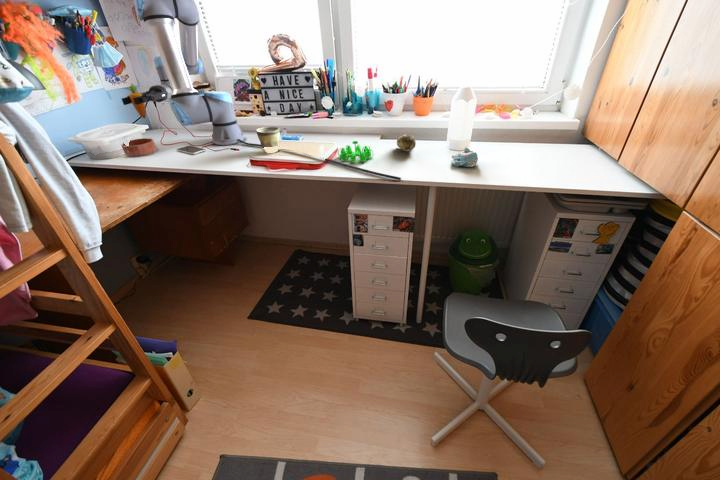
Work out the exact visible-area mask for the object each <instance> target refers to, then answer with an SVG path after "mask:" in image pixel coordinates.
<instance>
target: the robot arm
mask: <svg viewBox="0 0 720 480" xmlns="http://www.w3.org/2000/svg"><path fill="white" fill-rule="evenodd" d="M133 5H134V9H135V12H136V15H137V18H138V20H142V21H143V23H144V25H145V27H147V28H149V29H150V31H151V35H152V37H153V40H154V43H155V45H156V48H157V51H158V53H159V56H154V57H153V62H154V66H155V70H156V72H157V75H158V78H159V82H160V83H159V84H155V85H152V86H149V89H148V90H146V91H143V92H139V93H140V94H141V95H142V96H140V97H136V98H133V100H134V102H135V105H138V104H141V103H145V104H146V103H149V102H155V103H162V102H168V103H169V106H170V109H171V111H172V114H173V115H174V117H175V119H176V120H177V122H178V123H179V124H180V125H181V126H183V127H189V126H196V125H202V124H208V123H211V125H212V134H211V138H212V142H213V143H212V144H213V145H215V146H216V145H217V146H230V145H236V144H240V143H242V144H244V145H246V146H252V147H253V146H254V147H261V148H262V145H261V143H260V144H259V143H252V142H251V143H250V142H247V141H245V139H246V138H245V134H244V132H243V131H242V129H241V127H240V126H239V124H238V120H237V116H236V111H235V108H234V102H233V99H232V96H231V94H230V93H228V92H227V91H219V90H218V91H217V90H216V91H215V90H214V91H213V90H208V91H207V90H206V91H203V95H200V94H199V91H198V90H197V89H195V88H194V87H193V83H192V80H191V77H190V76H194V75H195V76H197V75H201V74H203V73H204V66H203V63H202V60H201V59H200V58H199V54H198V53H199V51H198V50H199V48H198V47H199V46H198V25H199V23H200V12H199V11H200V10H199V8H198V6H197V4H196V2H195V0H133ZM175 19H176V20H177V21H178V32H179V42H180V45H179V42H178V38H177V36H176V32H175V30H174V26H175V25H176V21H175ZM121 101H122V103H123V106H128V105H131V104H132V101H131V99H130V97H129V95H127V96H126V97H121ZM324 161H325V162H329V163H332V164H336V165H339V166H342V167H346V168H349V169H351V170H352V169H353V170H356V171H360V172H364V173H367V174H371V175H376V176H380V177H384V178H387V179H393V180H398V181H401V179H402V178H401V177H399V176H395V175H390V174H386V173H382V172H377V171H373V170H369V169H366V168H361V167H357V166H353V165H350V164H347V163H343V162H339V161H336V160H334V159H329V158H326V159H325V160H324Z"/></svg>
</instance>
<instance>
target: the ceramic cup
mask: <svg viewBox="0 0 720 480" xmlns="http://www.w3.org/2000/svg"><path fill="white" fill-rule="evenodd" d="M255 132H256V135H257V138H258V140H259V141H260V145H262V147H261V148H262V149H263V148H264V147H274V146H278V145H279V146H280V136H281V135H280V133H281V131H280V127H278V126H264V127H260V128H256V130H255Z"/></svg>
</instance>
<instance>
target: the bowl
mask: <svg viewBox="0 0 720 480" xmlns="http://www.w3.org/2000/svg"><path fill="white" fill-rule="evenodd" d="M129 141H130V142H129V146H126V145H125V144H124V142H122V143H123V144H122V143H121V144H120V146H121V149H122V150H123V153H124V155H125V156H127V157H133V158H134V157H136V158H137V157H144V156H149V155H151V154H153V153H155V152H156V151H157V150H158V147H157V145H156V142H155V140H154V138H151V137H142V138H135V139H131V140H129Z"/></svg>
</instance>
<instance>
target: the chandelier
mask: <svg viewBox="0 0 720 480" xmlns="http://www.w3.org/2000/svg"><path fill="white" fill-rule="evenodd" d="M352 144H353V145H354V151H353V149H352V147H351V145H349V144H348V145H346V146H345V147H340V148H339V149H338V152H337V155H338V157H339V159H340V161H342V162H347V161H348V160H349V161H350V163H351V164H354V163H355V162H356V156H359V160H360V162H362V163H365V162H366V161H367V160H371V159H372V158H373V157H374V155H372V154H374V151H373V150H372V149H371V147H370V146H369V145H364V146H363V147H361V146H360V143H359V142H358V141H357V140H353V141H352Z"/></svg>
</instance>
